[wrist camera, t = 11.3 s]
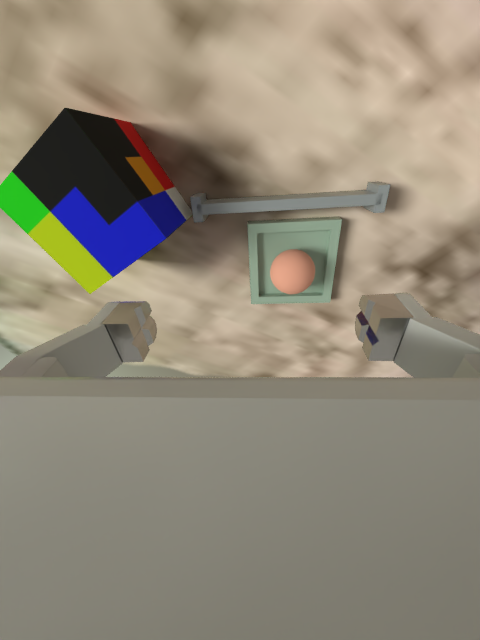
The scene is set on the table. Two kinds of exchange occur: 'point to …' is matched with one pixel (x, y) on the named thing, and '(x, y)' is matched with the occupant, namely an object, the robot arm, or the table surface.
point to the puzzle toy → (92, 196)
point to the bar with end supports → (293, 201)
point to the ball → (292, 271)
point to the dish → (284, 235)
